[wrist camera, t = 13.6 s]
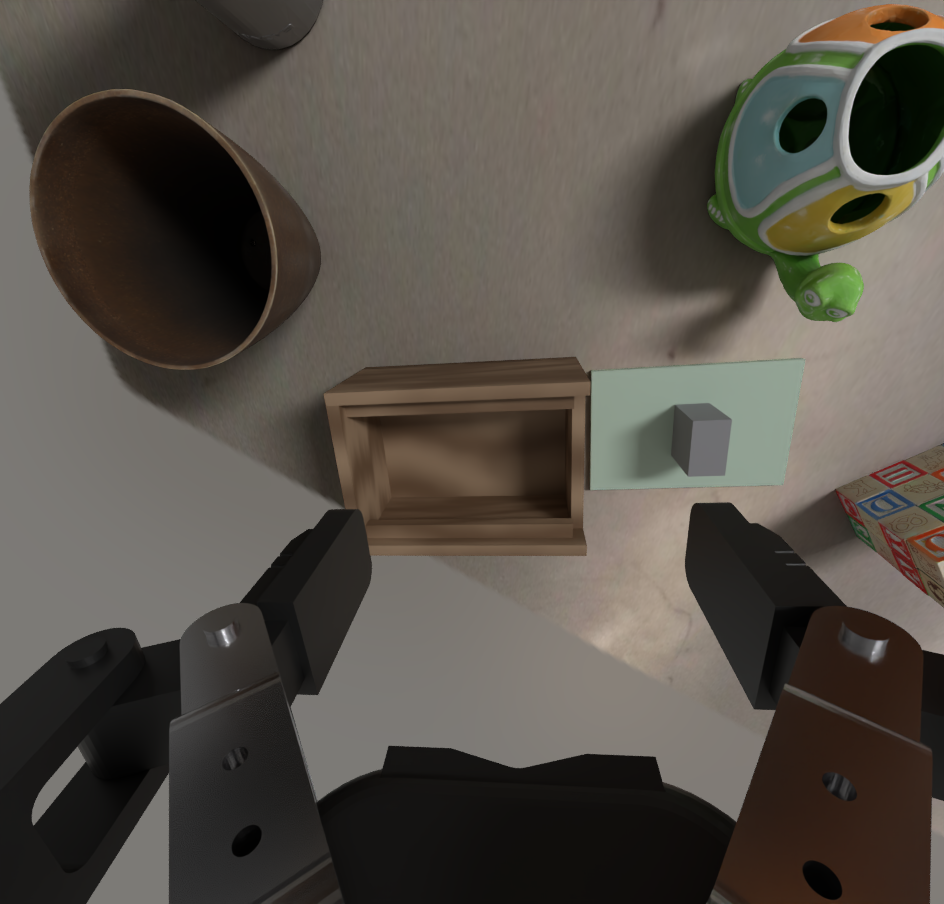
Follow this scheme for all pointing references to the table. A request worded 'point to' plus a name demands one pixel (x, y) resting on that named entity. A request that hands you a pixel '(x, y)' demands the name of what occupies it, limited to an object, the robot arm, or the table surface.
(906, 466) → the stack of blocks
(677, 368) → the lid
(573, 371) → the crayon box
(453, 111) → the table surface
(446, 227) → the table surface
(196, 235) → the plant pot
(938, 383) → the table surface
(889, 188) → the turtle holder
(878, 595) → the table surface
